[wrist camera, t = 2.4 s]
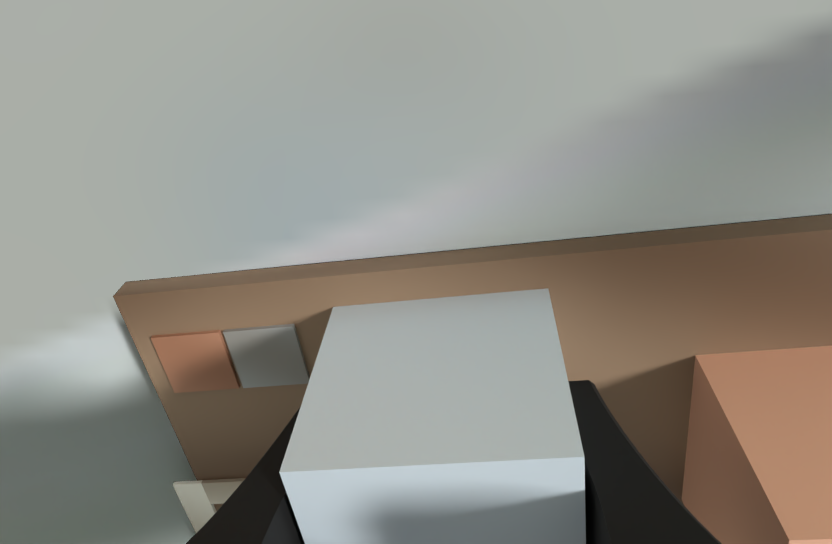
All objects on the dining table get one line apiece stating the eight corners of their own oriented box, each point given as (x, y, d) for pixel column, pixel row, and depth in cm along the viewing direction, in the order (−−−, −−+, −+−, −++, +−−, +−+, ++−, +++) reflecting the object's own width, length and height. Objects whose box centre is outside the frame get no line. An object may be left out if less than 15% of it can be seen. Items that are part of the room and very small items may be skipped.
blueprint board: (831, 614, 18) (843, 637, 18) (257, 624, 21) (251, 646, 20) (958, 202, 12) (985, 217, 11) (99, 283, 14) (82, 301, 14)
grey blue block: (556, 447, 15) (587, 638, 11) (371, 457, 16) (340, 641, 12) (548, 288, 13) (584, 456, 9) (333, 306, 13) (279, 472, 9)
